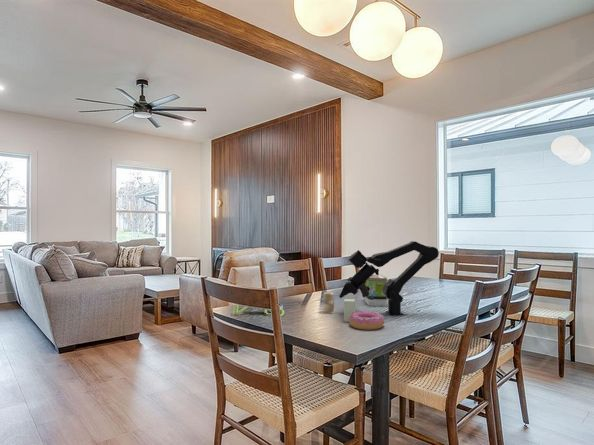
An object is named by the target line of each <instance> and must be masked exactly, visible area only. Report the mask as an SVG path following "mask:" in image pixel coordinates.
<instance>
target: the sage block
mask: <svg viewBox="0 0 594 445" xmlns="http://www.w3.org/2000/svg"><path fill="white" fill-rule="evenodd" d="M354 312H356V299H354V298H344V300H343V322H344V323H350V321H349V318H350V316H351V315H350V314H352V313H354ZM349 315H350V316H349Z"/></svg>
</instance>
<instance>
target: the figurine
mask: <svg viewBox="0 0 594 445" xmlns="http://www.w3.org/2000/svg"><path fill="white" fill-rule="evenodd" d="M278 304H279V305H280V311H279V312H281V313H280V315H281V317H280V318H282V317H283V316H284V315H285V310H284V304H281V303H278ZM239 308H240V307H239V305H238V304H236V305H235V306H234V308H233V310H232V316H235V315H234V314H237V315H240V314H242V313H243V312H244V311H245V310H247V309H248V308H249V307H245V306H244V307H242V308H241V309H240V310H239ZM261 310H262V311H261ZM260 311H261V312H264V314H265V313H266V314H270V315H271V313H272V312H271V313H270V311H269V310H264V309H260ZM266 314H265V315H266Z"/></svg>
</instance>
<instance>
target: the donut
mask: <svg viewBox="0 0 594 445" xmlns="http://www.w3.org/2000/svg"><path fill="white" fill-rule="evenodd" d="M350 315H351V316H350ZM350 315H349V316H350V318H349V321H350V322H349V324H350V326H351V327H353V328H355V329H358V330H363V331H364V330H365V331H366V330H367V331H375V330H378V329H381V328H383V326H384V325H385V318H384V315H382V313H379V312H374V311H368V310H366V311H365V310H364V311H362V310H361V311H355V312H354V313H352V314H350Z"/></svg>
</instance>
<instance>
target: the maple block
mask: <svg viewBox="0 0 594 445" xmlns="http://www.w3.org/2000/svg"><path fill="white" fill-rule="evenodd" d="M334 313H335V292H326V291H325V292H324V293H323V314H334Z"/></svg>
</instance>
